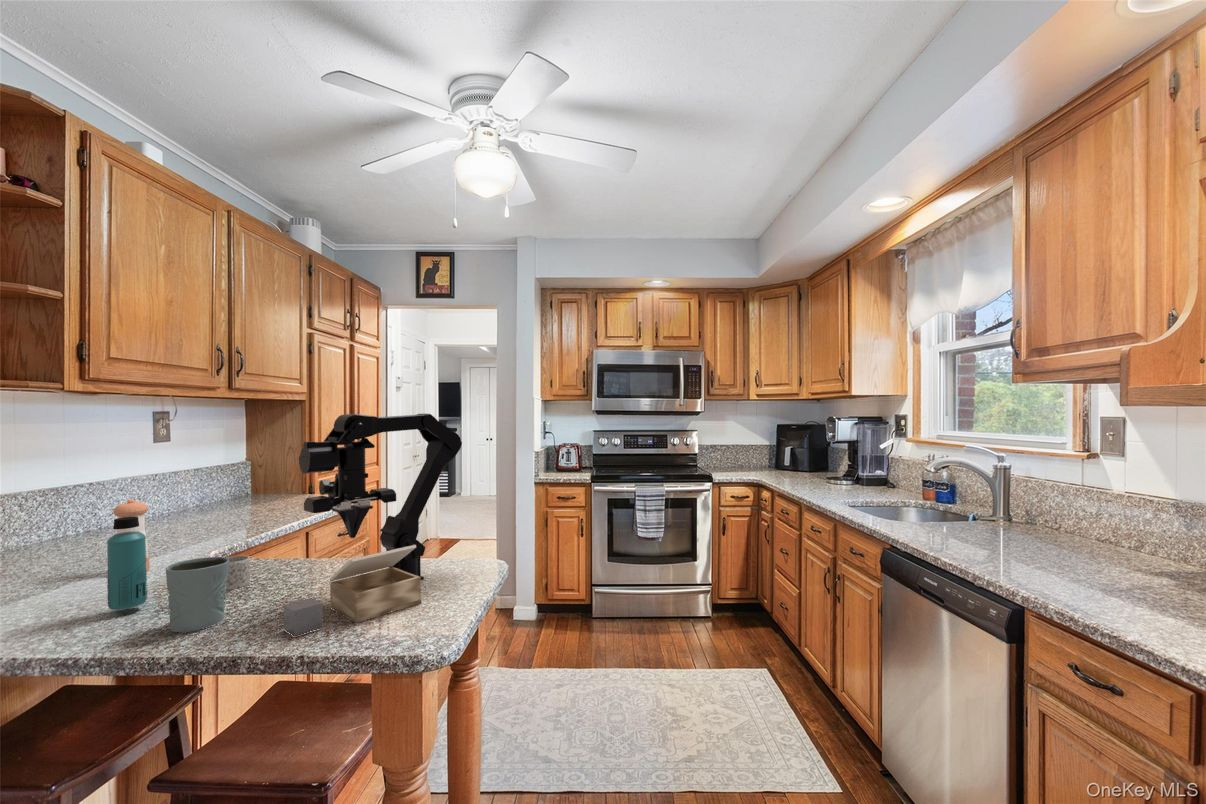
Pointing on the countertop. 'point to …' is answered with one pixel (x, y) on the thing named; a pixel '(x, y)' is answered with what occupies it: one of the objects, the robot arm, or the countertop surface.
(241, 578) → the mug
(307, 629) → the block
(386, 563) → the lid
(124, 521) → the beverage bottle
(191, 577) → the gray green planter pot
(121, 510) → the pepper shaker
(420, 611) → the countertop surface
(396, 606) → the box
